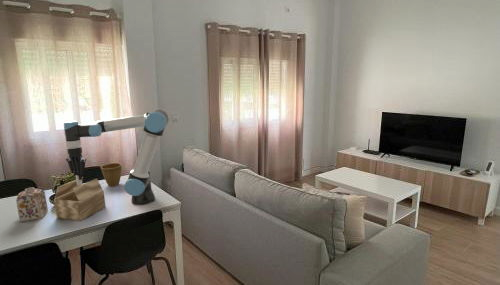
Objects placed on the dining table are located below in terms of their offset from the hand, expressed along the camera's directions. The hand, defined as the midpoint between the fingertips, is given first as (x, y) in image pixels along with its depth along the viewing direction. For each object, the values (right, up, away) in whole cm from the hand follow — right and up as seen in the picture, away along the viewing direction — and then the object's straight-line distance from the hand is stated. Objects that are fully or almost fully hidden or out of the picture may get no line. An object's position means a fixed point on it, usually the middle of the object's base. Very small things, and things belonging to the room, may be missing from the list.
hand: (79, 184), depth 186 cm
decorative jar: (-28, -20, 0) cm, 34 cm away
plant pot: (-3, -8, +52) cm, 53 cm away
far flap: (-8, -2, +2) cm, 8 cm away
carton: (-1, -18, +4) cm, 18 cm away
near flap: (+6, -3, -1) cm, 6 cm away
